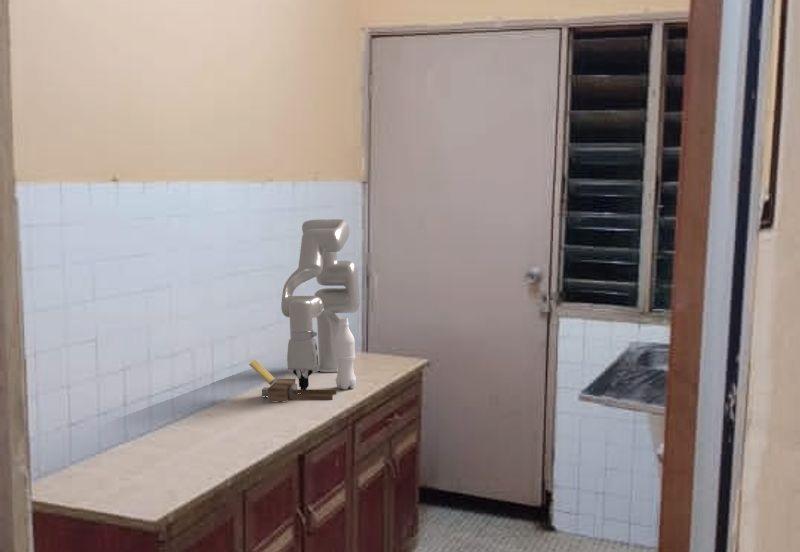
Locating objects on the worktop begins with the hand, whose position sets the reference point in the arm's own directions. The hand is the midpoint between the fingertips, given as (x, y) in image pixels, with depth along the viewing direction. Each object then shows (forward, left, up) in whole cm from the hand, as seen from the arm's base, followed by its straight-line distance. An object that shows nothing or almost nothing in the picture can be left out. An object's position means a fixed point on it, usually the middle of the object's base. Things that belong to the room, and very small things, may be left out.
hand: (303, 388), depth 290 cm
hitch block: (0, 0, -3) cm, 3 cm away
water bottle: (-12, +12, -3) cm, 17 cm away
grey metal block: (0, -9, -3) cm, 10 cm away
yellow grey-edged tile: (0, -14, +6) cm, 15 cm away
